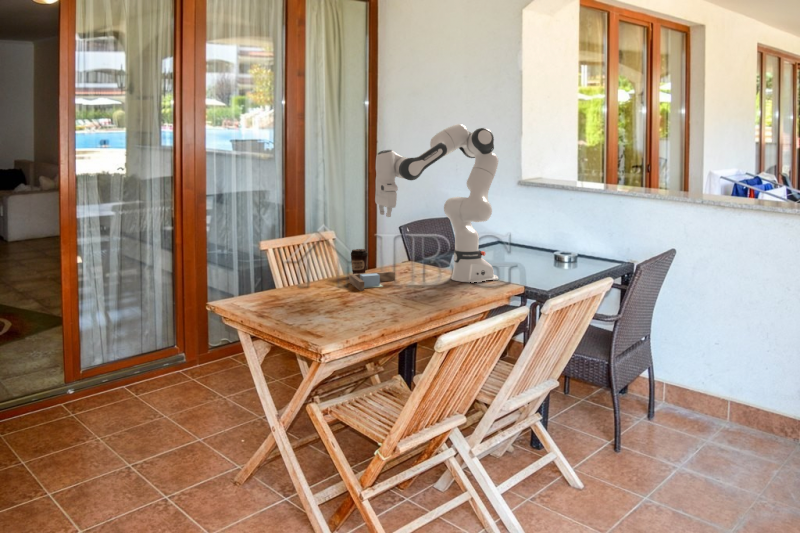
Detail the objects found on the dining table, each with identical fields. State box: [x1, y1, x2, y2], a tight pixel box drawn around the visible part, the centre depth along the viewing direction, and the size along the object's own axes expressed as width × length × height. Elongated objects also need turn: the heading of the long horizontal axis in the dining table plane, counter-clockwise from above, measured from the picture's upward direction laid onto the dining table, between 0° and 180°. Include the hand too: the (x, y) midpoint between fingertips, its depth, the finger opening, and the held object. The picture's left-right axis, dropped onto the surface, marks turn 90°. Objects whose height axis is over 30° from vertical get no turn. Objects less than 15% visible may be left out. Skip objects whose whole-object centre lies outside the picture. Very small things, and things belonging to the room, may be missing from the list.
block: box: [360, 272, 381, 288], centre depth 344 cm, size 4×8×5 cm, turn 111°
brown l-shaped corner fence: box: [348, 270, 396, 292], centre depth 347 cm, size 22×18×4 cm
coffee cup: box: [350, 248, 369, 274], centre depth 366 cm, size 9×8×13 cm
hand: (385, 215), depth 349 cm, fingers open, 8 cm apart
